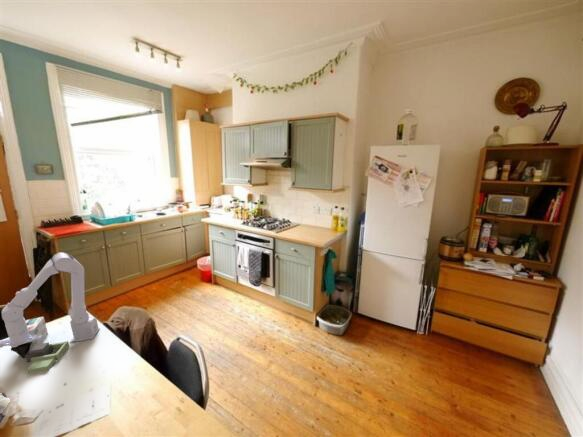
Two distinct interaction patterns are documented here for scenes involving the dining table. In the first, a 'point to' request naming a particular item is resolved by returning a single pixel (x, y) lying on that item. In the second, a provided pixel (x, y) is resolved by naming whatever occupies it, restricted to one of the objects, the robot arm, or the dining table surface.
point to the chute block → (38, 351)
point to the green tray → (48, 358)
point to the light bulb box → (37, 329)
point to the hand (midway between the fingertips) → (26, 356)
